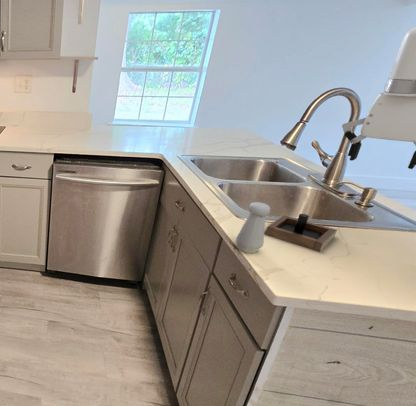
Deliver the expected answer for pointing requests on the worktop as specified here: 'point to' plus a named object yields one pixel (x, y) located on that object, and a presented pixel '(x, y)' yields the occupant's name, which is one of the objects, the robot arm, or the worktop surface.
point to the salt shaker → (253, 228)
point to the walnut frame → (299, 239)
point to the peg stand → (301, 227)
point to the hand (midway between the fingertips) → (380, 163)
